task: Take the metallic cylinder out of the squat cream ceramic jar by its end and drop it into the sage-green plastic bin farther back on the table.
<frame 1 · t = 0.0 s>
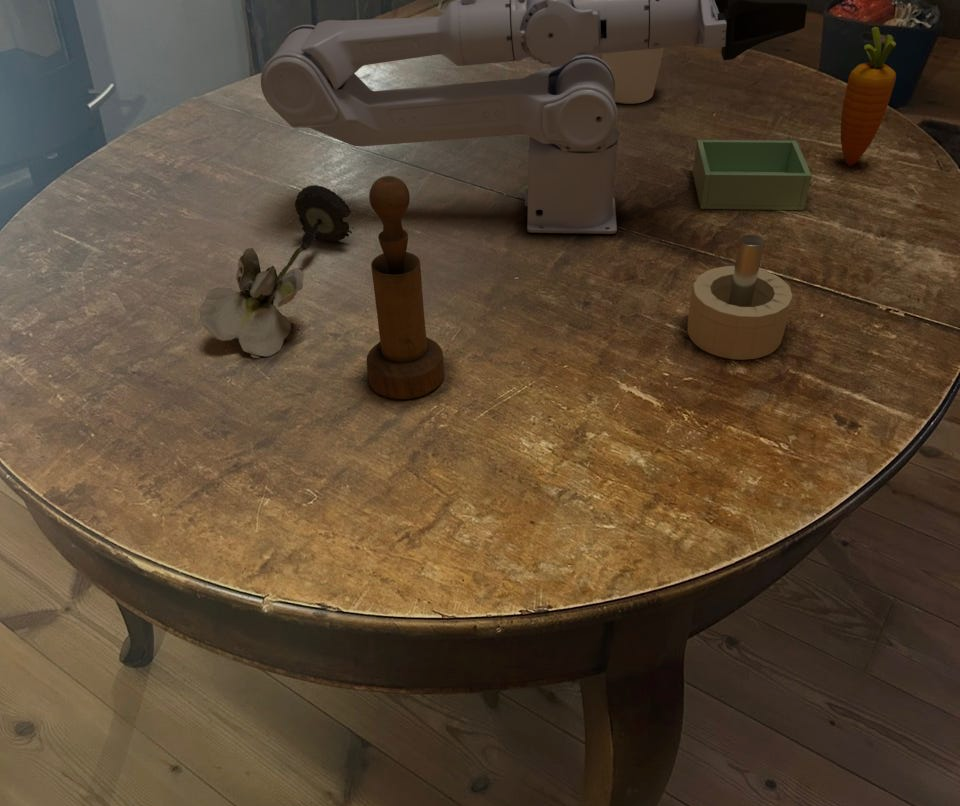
hand: (797, 2, 85), 22 cm above the table, tool horizontal, fingers open, 7 cm apart
carrot: (849, 167, 110), on the table
artificial flower: (293, 296, 91), on the table
mortar and pestle: (406, 379, 81), on the table
cup: (628, 96, 127), on the table
jar: (734, 333, 84), on the table
bin: (746, 191, 105), on the table
metallic cylinder: (734, 328, 84), resting on jar
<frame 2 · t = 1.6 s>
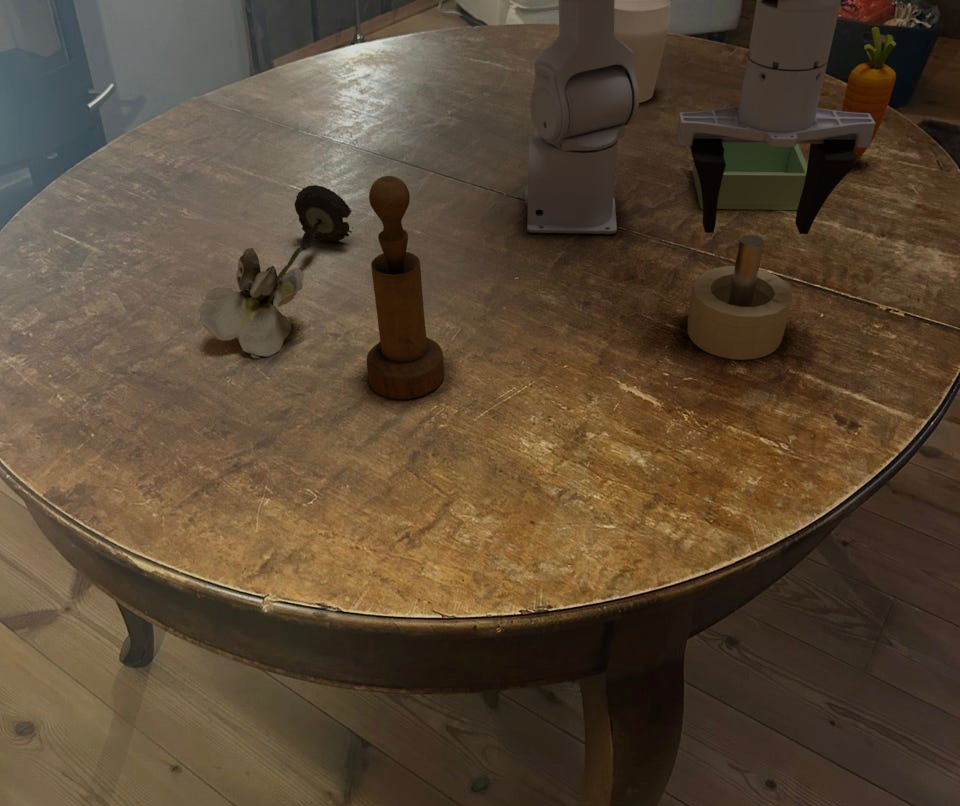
hand: (754, 227, 77), 10 cm above the table, tool pointing down, fingers open, 7 cm apart
nothing on the table moved.
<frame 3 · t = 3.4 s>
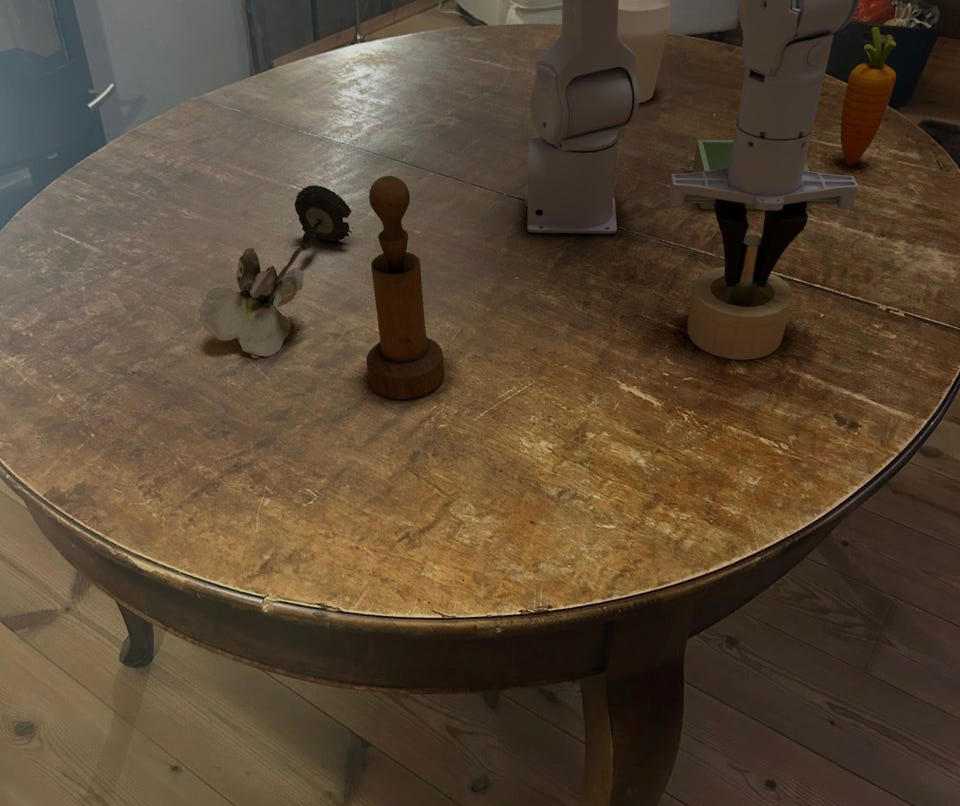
hand: (744, 280, 81), 5 cm above the table, tool pointing down, fingers closed on metallic cylinder, 2 cm apart
metallic cylinder: (735, 328, 84), point 1 cm above the table, touching gripper, jar
everything else where it was.
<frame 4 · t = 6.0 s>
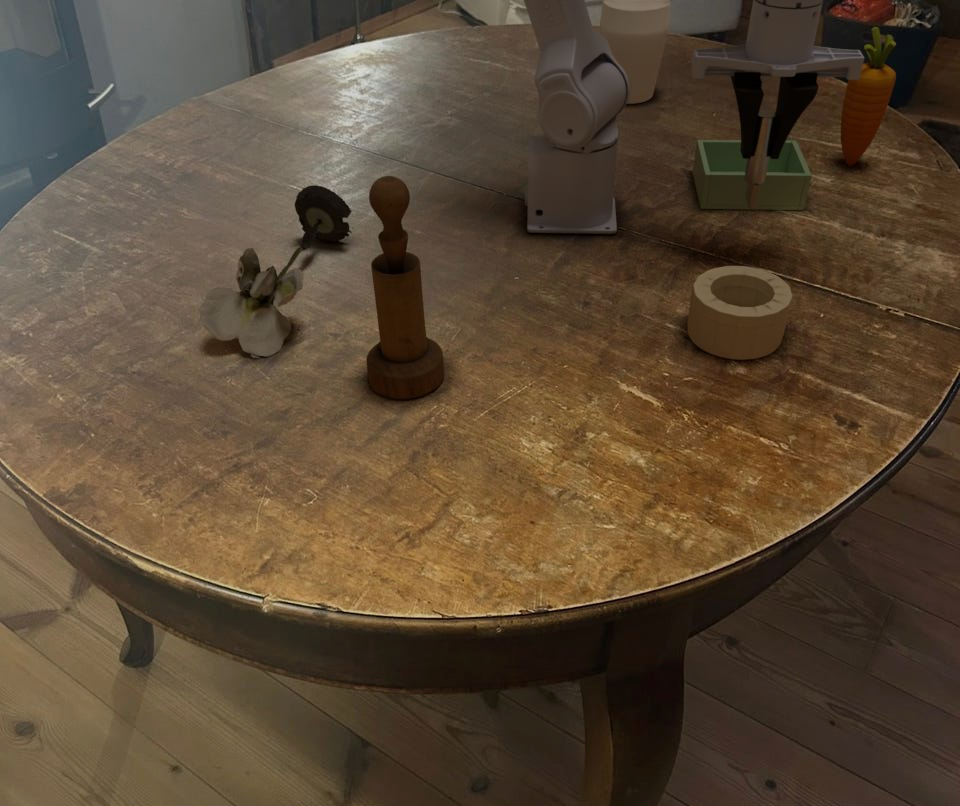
hand: (758, 154, 88), 10 cm above the table, tool pointing down, fingers closed on metallic cylinder
metallic cylinder: (749, 203, 91), point 5 cm above the table, touching gripper
everything else where it was.
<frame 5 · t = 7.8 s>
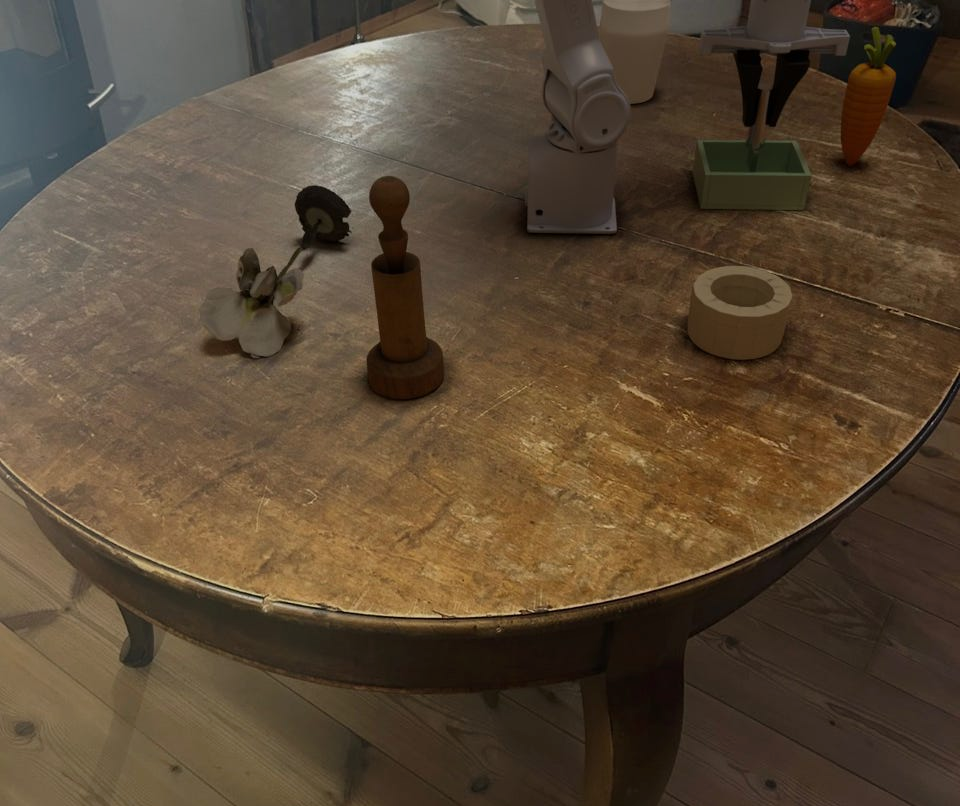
hand: (758, 123, 100), 8 cm above the table, tool pointing down, fingers closed on metallic cylinder, 2 cm apart
metallic cylinder: (750, 167, 103), point 3 cm above the table, touching gripper
everything else where it was.
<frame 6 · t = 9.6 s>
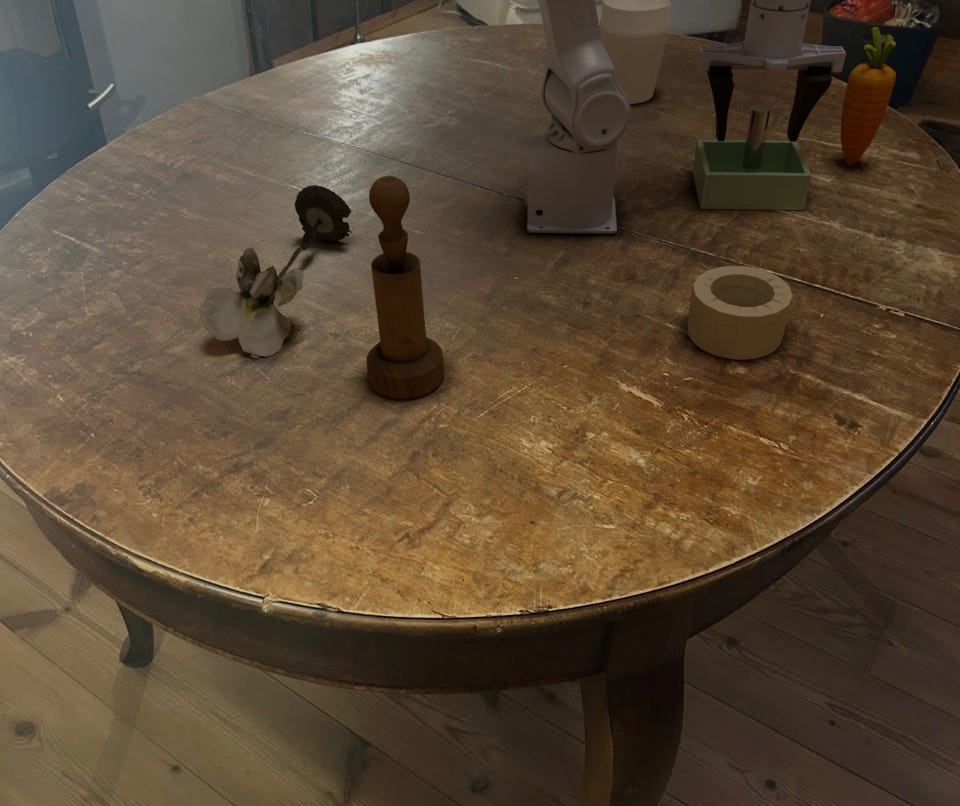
hand: (755, 137, 101), 6 cm above the table, tool pointing down, fingers open, 7 cm apart
metallic cylinder: (747, 186, 105), resting on bin
everything else where it was.
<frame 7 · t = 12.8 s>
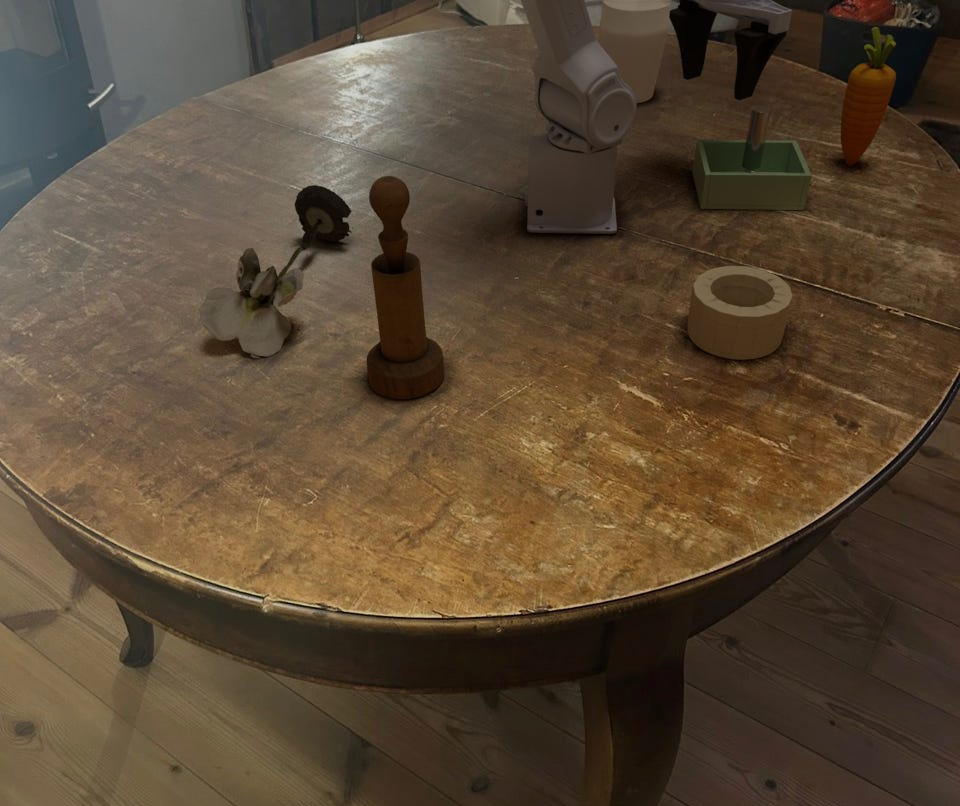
hand: (717, 87, 101), 10 cm above the table, tool pointing down, fingers open, 7 cm apart
nothing on the table moved.
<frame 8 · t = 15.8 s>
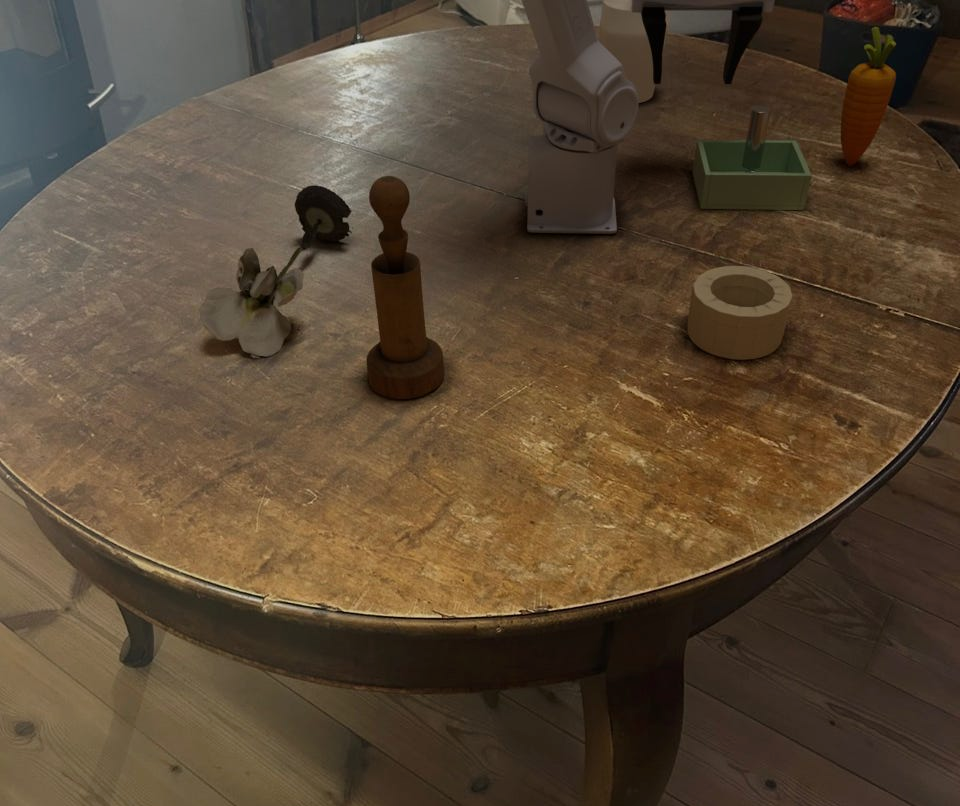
hand: (691, 80, 102), 10 cm above the table, tool pointing down, fingers open, 7 cm apart
nothing on the table moved.
at the end: metallic cylinder inside the target area in the bin (0.0 cm from its centre), point 0.5 cm above the bin's base; metallic cylinder touching bin; the gripper is holding nothing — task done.
